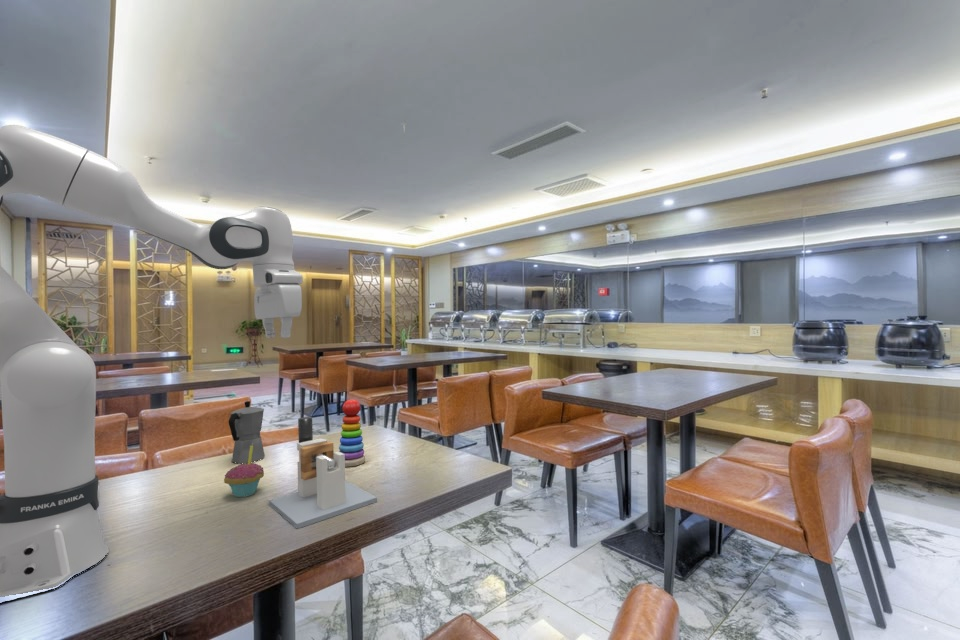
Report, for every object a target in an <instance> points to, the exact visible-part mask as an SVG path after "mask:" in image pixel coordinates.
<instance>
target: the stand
mask: <svg viewBox="0 0 960 640" xmlns="http://www.w3.org/2000/svg"><path fill="white" fill-rule="evenodd" d="M325 442H328V440H327V439H325V438H317V439H313V440H311V441H306V442H301V443H299V442H297V443H296V449H297V452H298V461H297V492H293V493H288V494H286V495H282V496H279V497H278V496H277V497H276V498H275V497H274V498H271V499H268V505H269V506H270V507H271V508H272V509H274V510H275V511H276V512H277V513H278V514H280V515H281V516H282V517H283V518H284V519H285V520H286V521H288V523H289V524H291V525H292V526H293V527H294V528H295V529H301V528H304V527H308V526H310V525H313V524H316V523H319V522H322V521H324V520H325V521H326V520H328V519H330V518H333V517H335V516H339V515H342V514H345V513H348V512H350V511H354V510H357V509H359V508H364V507H366V506H368V505H371V504H372V505H373V504H374V503H377V502H378V497H377V496H375V495H374V494H372V493H370V492H368V491H366V490H364V489H362V488H361V487H360V486H357V485H355V484H353V483H351V482H349V481H348V480H346V467H345V454H343V453H341V452H339V451H336V452H334V460H335V461H336V462H337V466H336V467H335V468H334V469H329V468H327V458H325V457H323V456H317V457H316V461H314V460H312V459H311V464H312V468H314V467H316V472H317V477H315V478H311V479H308V480H303V479H301V457H300V448H301V447H306V446H311V445H315V444H320V443H325ZM321 454H323V453H321Z"/></svg>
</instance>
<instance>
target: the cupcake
mask: <svg viewBox="0 0 960 640" xmlns="http://www.w3.org/2000/svg"><path fill="white" fill-rule="evenodd" d="M252 445H253V443H252ZM252 445H251V446H250V451H249V459H248V463H247V464H246V463H243V464H237V466H235V467H232V468H230V470H228V471H227V472H226V473H225V475H224V479H223V483H224V484H227V485H228V486H229V487H230V489H231V492H232V493H233V496H234V497H236V498H243V497H248V496H252V495H253V494H255V493H256V491H257V488H258V487H259V486H258V485H259V482H260V480H261V479H262V478H263V477H265V476H264V475H265V472H264V467H262V465H260V464H258V463H255V462H252V463H251V458H252V451H253V446H252Z"/></svg>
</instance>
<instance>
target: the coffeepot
mask: <svg viewBox="0 0 960 640" xmlns="http://www.w3.org/2000/svg"><path fill="white" fill-rule="evenodd" d="M244 405H245V406H244V407H242V408H238V409H237V410H233V411H231V412H230V413H229V414H230V417H229V419H228V425H229V430H230V433H231V437H232V440H233V441H234V445H233V450H232V458H231V463H233V462H236V463H248V459H249V451H250V446H251V445H252V443H253V445H252V446H253V451H252V458H251V462H252V463H255V462H254V461H256V462H258V461H257V460H259V461H261V460H260V459H262V460H263V459H264V458H265V449H264V445H263V441H262V437H261V432H262V425H263V419H264V411H265V409H264V408H262V407H257V406H256V407H255V406H253V407H252V406H250V405H251V401H248V400H246V401H244Z"/></svg>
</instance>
